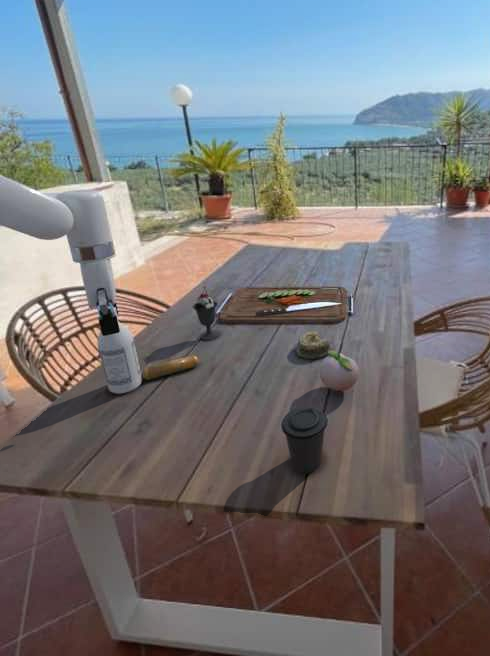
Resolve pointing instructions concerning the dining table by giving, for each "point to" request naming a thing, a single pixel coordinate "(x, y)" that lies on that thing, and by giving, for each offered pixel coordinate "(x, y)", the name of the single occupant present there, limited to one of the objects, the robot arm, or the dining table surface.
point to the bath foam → (119, 360)
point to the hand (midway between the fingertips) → (110, 324)
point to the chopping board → (286, 305)
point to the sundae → (206, 314)
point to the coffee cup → (305, 437)
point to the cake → (313, 346)
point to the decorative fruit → (338, 371)
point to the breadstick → (169, 367)
